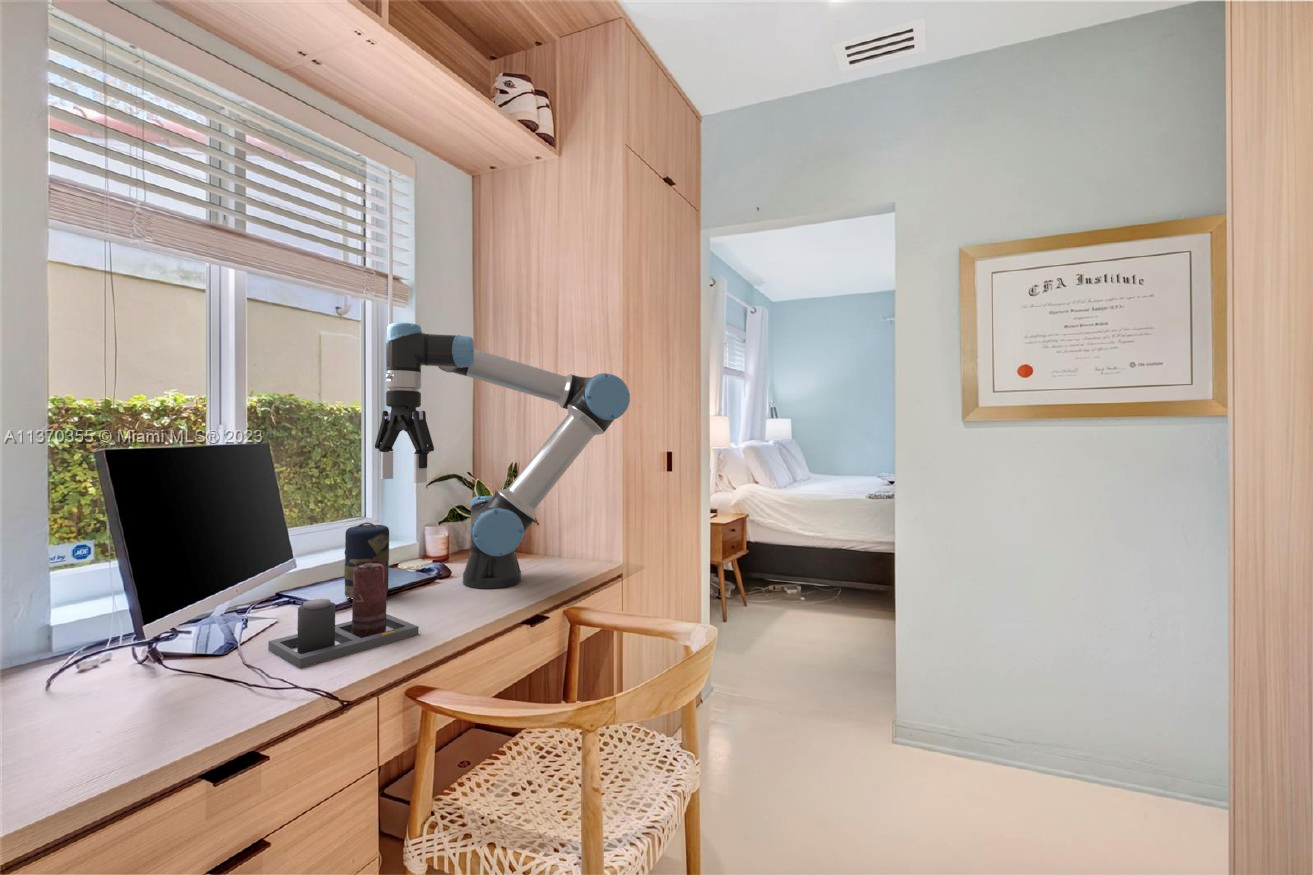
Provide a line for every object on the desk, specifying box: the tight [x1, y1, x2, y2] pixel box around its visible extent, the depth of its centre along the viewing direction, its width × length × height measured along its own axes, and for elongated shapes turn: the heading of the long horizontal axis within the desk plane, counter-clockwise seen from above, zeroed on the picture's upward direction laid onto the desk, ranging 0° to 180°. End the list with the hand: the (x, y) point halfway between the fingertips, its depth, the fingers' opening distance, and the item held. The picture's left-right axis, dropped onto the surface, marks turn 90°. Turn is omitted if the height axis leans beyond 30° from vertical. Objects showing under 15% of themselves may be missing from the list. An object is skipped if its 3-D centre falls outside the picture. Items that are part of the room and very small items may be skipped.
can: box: [351, 561, 388, 638], centre depth 119 cm, size 6×6×14 cm
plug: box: [296, 598, 336, 654], centre depth 110 cm, size 6×6×9 cm
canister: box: [343, 522, 390, 598], centre depth 143 cm, size 10×10×18 cm
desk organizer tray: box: [268, 613, 420, 669], centre depth 115 cm, size 22×13×2 cm, turn 143°
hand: (403, 480), depth 141 cm, fingers open, 13 cm apart
